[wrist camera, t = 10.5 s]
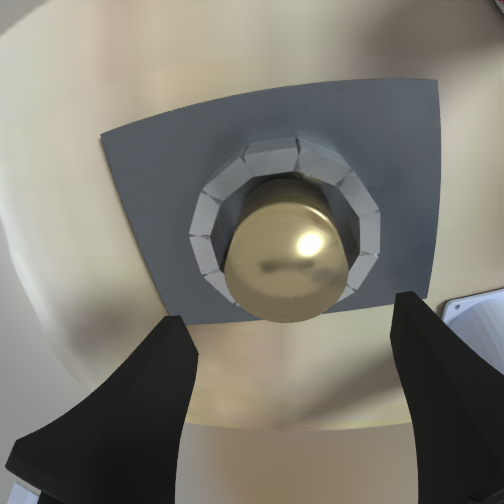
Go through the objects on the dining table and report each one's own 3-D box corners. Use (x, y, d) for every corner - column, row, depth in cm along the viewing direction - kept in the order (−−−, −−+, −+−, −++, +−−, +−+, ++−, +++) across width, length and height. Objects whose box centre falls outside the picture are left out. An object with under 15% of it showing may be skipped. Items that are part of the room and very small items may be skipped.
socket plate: (432, 79, 12) (462, 83, 9) (423, 292, 19) (438, 323, 16) (105, 132, 15) (75, 145, 12) (176, 319, 22) (165, 350, 19)
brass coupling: (328, 173, 15) (348, 215, 11) (333, 257, 17) (347, 317, 13) (231, 184, 16) (211, 229, 11) (248, 265, 18) (237, 326, 14)
